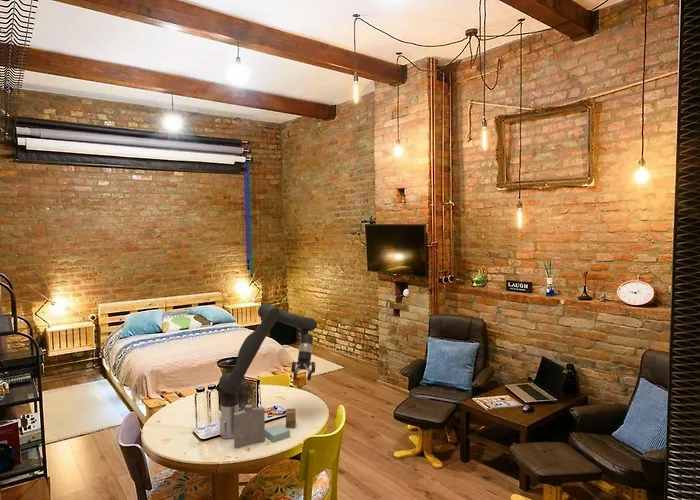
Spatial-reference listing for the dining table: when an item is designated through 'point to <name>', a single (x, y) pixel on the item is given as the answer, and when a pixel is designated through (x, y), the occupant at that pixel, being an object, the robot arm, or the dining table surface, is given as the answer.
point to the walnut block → (290, 418)
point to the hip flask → (249, 426)
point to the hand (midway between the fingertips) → (301, 380)
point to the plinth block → (277, 433)
